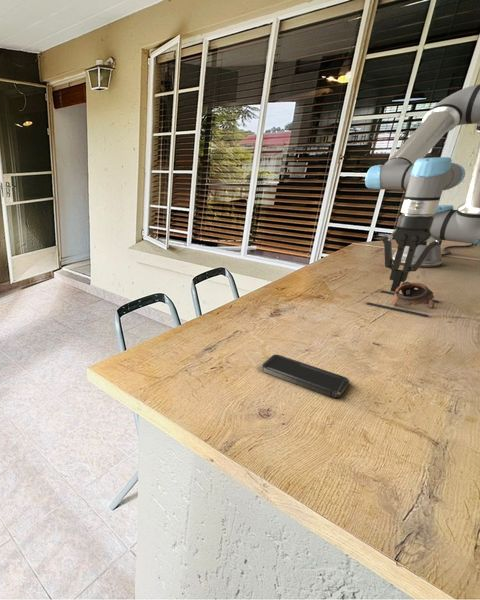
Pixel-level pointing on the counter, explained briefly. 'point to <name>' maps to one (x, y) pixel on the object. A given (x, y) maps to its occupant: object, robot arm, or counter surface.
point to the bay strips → (398, 309)
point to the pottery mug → (413, 294)
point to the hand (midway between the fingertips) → (394, 290)
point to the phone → (306, 375)
